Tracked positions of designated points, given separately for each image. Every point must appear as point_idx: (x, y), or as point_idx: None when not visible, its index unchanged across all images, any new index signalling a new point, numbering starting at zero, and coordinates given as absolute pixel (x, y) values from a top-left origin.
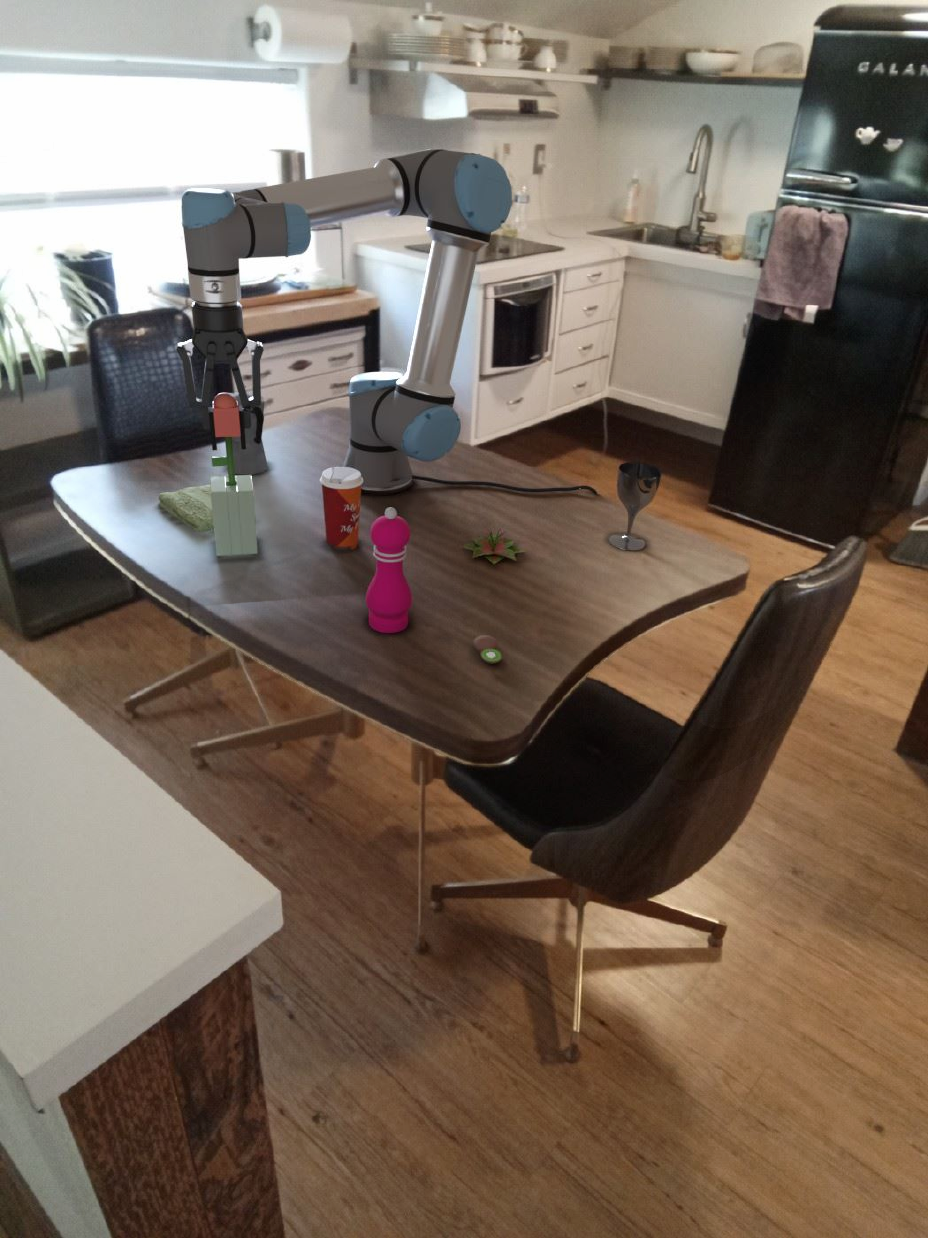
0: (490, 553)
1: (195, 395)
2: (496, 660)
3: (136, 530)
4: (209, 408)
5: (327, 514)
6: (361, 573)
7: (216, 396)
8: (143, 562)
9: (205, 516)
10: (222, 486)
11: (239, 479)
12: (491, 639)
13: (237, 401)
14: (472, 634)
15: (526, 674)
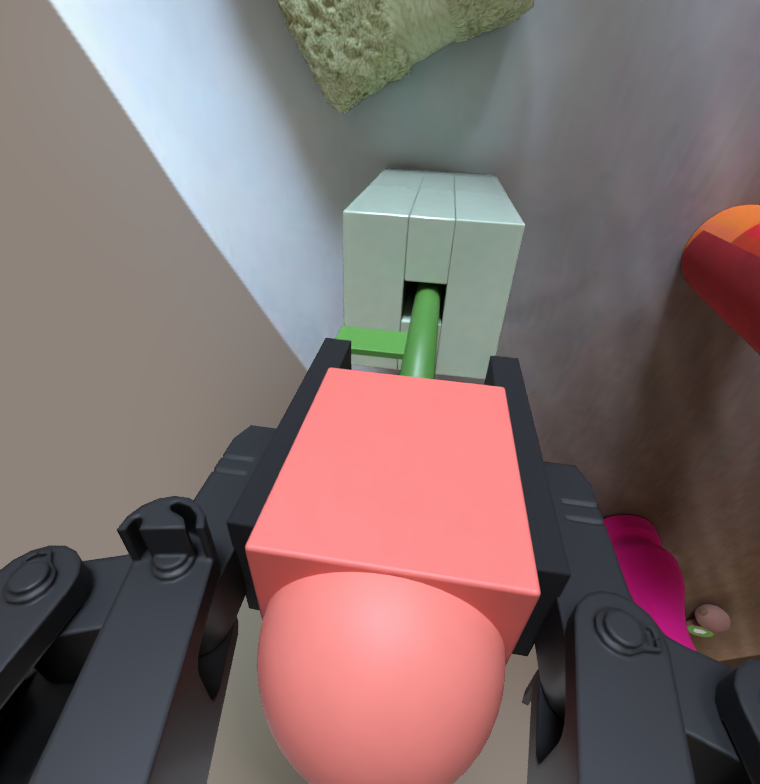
0: None
1: (33, 661)
2: (698, 635)
3: (148, 10)
4: (242, 555)
5: (729, 313)
6: (677, 398)
7: (274, 733)
8: (219, 243)
9: (352, 50)
10: (386, 326)
11: (461, 271)
12: (721, 632)
13: (529, 614)
14: (723, 581)
15: (717, 641)
